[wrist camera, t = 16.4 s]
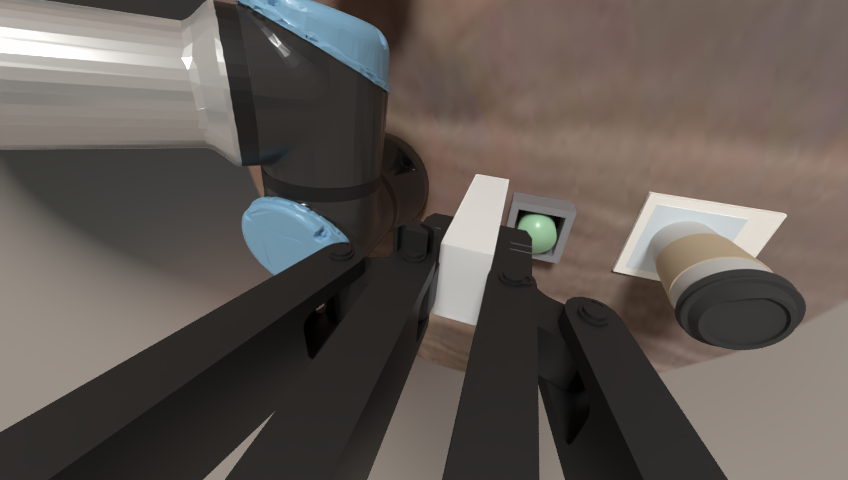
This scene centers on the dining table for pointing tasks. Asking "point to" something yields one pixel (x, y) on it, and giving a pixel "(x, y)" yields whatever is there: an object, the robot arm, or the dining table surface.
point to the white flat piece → (725, 219)
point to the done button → (539, 230)
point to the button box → (550, 208)
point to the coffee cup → (723, 289)
